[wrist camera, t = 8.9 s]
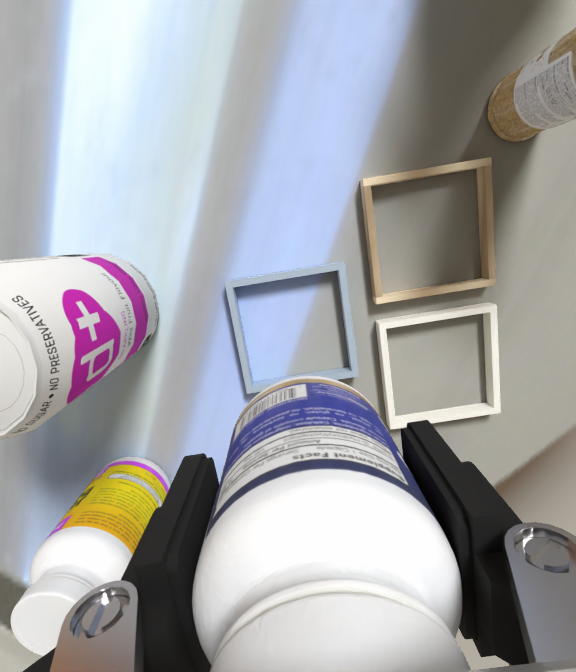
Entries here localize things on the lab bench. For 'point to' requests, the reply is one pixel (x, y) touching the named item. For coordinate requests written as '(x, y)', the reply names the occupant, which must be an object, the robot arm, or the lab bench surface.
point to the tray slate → (339, 266)
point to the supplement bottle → (88, 547)
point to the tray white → (490, 365)
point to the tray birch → (485, 229)
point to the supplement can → (66, 330)
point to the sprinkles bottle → (537, 93)
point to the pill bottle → (323, 545)
